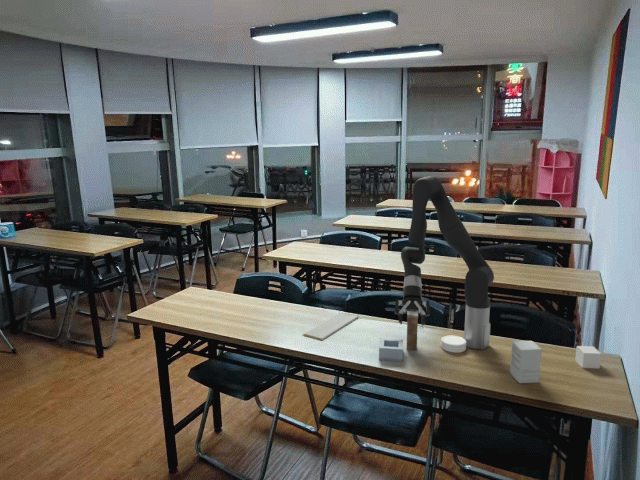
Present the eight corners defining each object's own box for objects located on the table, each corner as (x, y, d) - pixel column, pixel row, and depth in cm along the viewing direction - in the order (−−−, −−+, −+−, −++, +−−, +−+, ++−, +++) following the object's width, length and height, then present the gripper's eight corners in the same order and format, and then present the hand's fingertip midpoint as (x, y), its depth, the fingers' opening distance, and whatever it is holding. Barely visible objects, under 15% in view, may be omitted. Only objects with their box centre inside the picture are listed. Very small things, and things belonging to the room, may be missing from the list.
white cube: (575, 360, 175) (576, 345, 174) (591, 361, 174) (593, 346, 173) (582, 368, 169) (584, 353, 168) (599, 368, 169) (601, 353, 167)
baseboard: (299, 335, 203) (322, 341, 196) (299, 329, 202) (322, 335, 196) (337, 313, 228) (358, 318, 221) (337, 308, 227) (358, 313, 220)
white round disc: (442, 352, 184) (442, 344, 183) (439, 342, 193) (439, 334, 192) (468, 353, 182) (468, 345, 181) (464, 343, 192) (464, 335, 191)
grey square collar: (402, 351, 185) (402, 339, 184) (402, 361, 176) (402, 349, 175) (380, 349, 186) (380, 338, 185) (378, 359, 178) (379, 347, 177)
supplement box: (529, 372, 166) (532, 340, 164) (539, 383, 159) (542, 349, 157) (509, 373, 166) (511, 340, 164) (518, 383, 159) (521, 349, 156)
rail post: (416, 346, 189) (417, 311, 186) (417, 350, 185) (418, 315, 182) (406, 345, 190) (407, 311, 187) (406, 349, 186) (407, 314, 183)
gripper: (395, 283, 194) (394, 319, 185) (430, 285, 191) (430, 321, 182) (395, 291, 200) (394, 326, 191) (429, 293, 197) (429, 328, 189)
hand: (411, 324), depth 187 cm, fingers open, 8 cm apart
